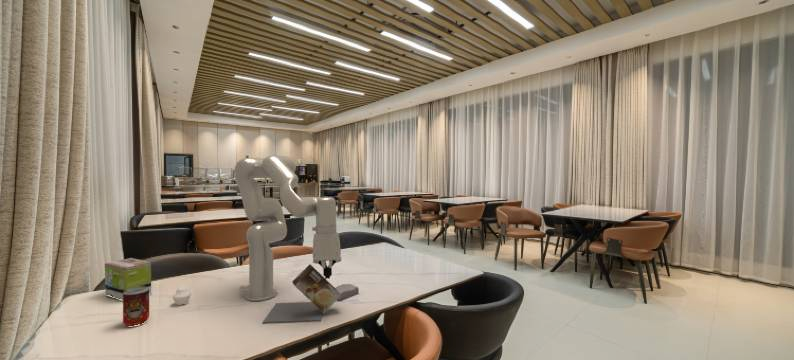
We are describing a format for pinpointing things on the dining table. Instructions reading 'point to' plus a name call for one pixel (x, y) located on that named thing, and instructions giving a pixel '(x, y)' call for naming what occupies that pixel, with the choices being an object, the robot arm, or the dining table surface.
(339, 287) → the stone block
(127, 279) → the tea box
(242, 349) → the dining table surface
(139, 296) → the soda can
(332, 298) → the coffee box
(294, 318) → the rubber mat
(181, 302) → the muffin
